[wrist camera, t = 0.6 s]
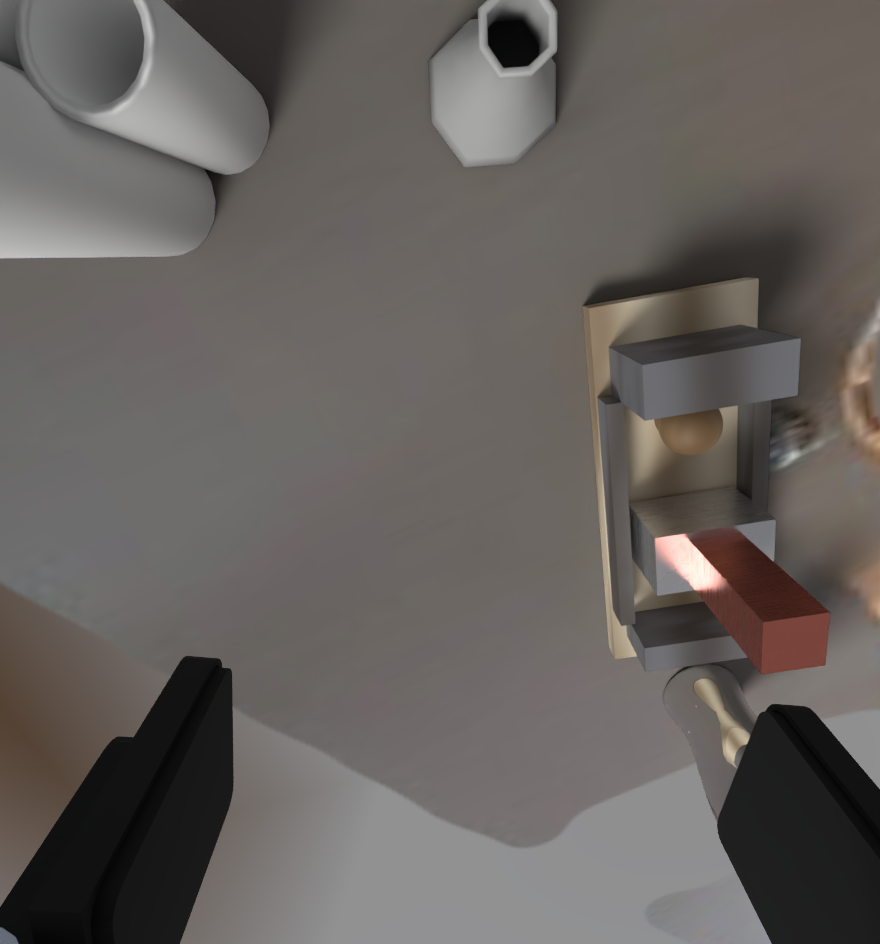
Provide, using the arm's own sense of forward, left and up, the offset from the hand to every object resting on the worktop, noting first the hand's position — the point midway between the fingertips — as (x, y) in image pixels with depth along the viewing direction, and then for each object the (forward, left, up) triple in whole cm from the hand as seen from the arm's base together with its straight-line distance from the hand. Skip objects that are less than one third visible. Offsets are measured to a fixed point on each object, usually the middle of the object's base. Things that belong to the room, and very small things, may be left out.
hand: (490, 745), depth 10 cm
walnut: (-14, +4, -28) cm, 31 cm away
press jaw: (-14, +11, -27) cm, 33 cm away
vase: (+13, -16, -29) cm, 36 cm away
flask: (-5, -16, -29) cm, 34 cm away
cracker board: (-14, +9, -29) cm, 34 cm away
